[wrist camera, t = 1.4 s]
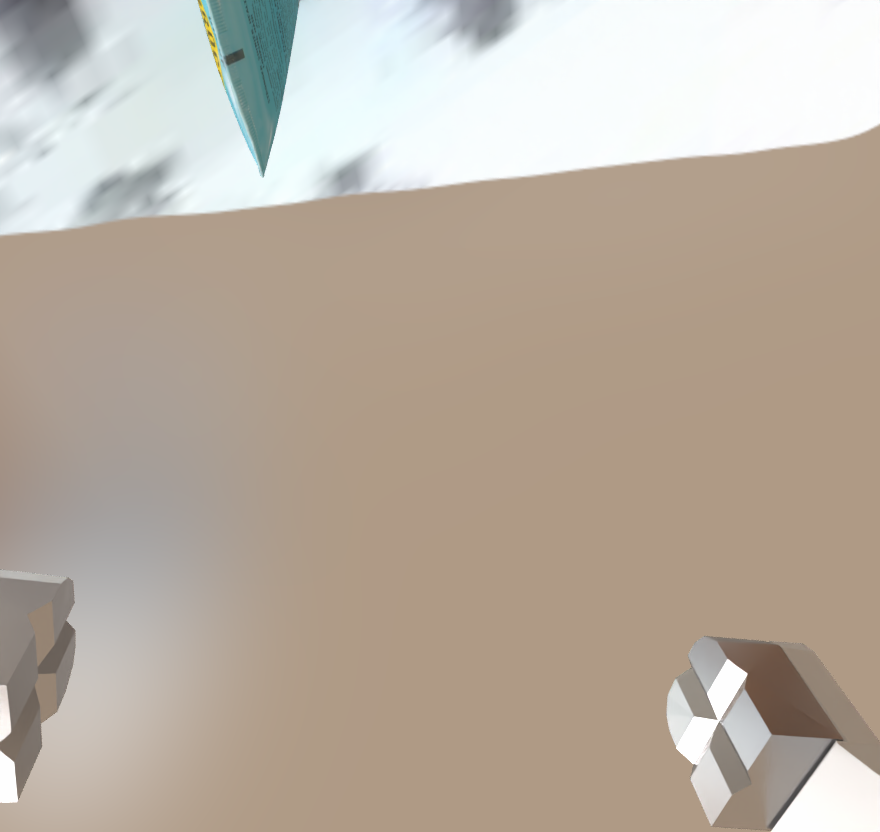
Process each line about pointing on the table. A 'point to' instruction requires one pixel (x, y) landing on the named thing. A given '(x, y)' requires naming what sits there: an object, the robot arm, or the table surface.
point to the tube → (252, 62)
